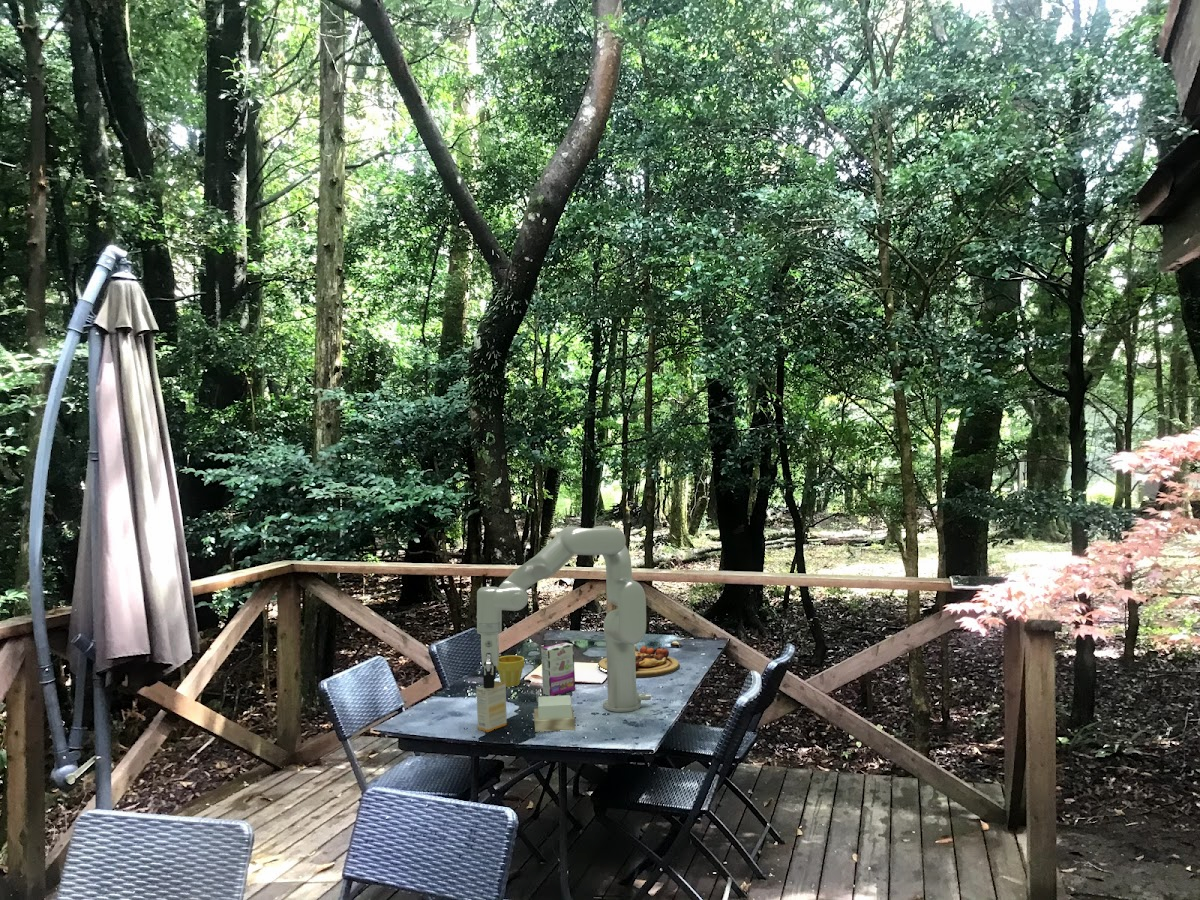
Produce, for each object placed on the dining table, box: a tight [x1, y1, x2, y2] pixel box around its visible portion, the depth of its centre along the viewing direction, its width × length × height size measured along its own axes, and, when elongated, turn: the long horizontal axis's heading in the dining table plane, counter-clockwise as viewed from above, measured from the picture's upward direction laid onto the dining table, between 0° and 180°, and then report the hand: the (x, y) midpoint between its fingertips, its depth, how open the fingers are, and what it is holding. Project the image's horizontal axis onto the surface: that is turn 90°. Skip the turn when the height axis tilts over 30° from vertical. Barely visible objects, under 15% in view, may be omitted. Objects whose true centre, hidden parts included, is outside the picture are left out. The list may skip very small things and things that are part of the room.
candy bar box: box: [540, 642, 576, 696], centre depth 273 cm, size 11×5×16 cm, turn 129°
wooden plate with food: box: [597, 645, 680, 678], centre depth 304 cm, size 32×32×8 cm
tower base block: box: [533, 706, 576, 733], centre depth 239 cm, size 12×12×4 cm
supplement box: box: [476, 680, 508, 733], centre depth 238 cm, size 8×5×13 cm, turn 141°
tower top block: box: [537, 694, 573, 720], centre depth 239 cm, size 10×10×4 cm
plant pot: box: [495, 654, 525, 687], centre depth 283 cm, size 10×10×10 cm
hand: (489, 683), depth 238 cm, fingers open, 9 cm apart
